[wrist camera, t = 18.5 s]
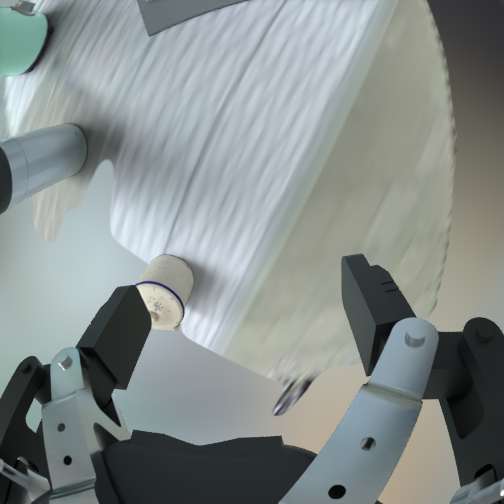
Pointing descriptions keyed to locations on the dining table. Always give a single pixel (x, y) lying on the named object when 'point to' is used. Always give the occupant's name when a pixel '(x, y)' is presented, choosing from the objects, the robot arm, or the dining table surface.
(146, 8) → the rubber mat
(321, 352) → the dining table surface
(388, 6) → the dining table surface
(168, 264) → the teacup with lid
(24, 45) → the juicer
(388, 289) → the robot arm
